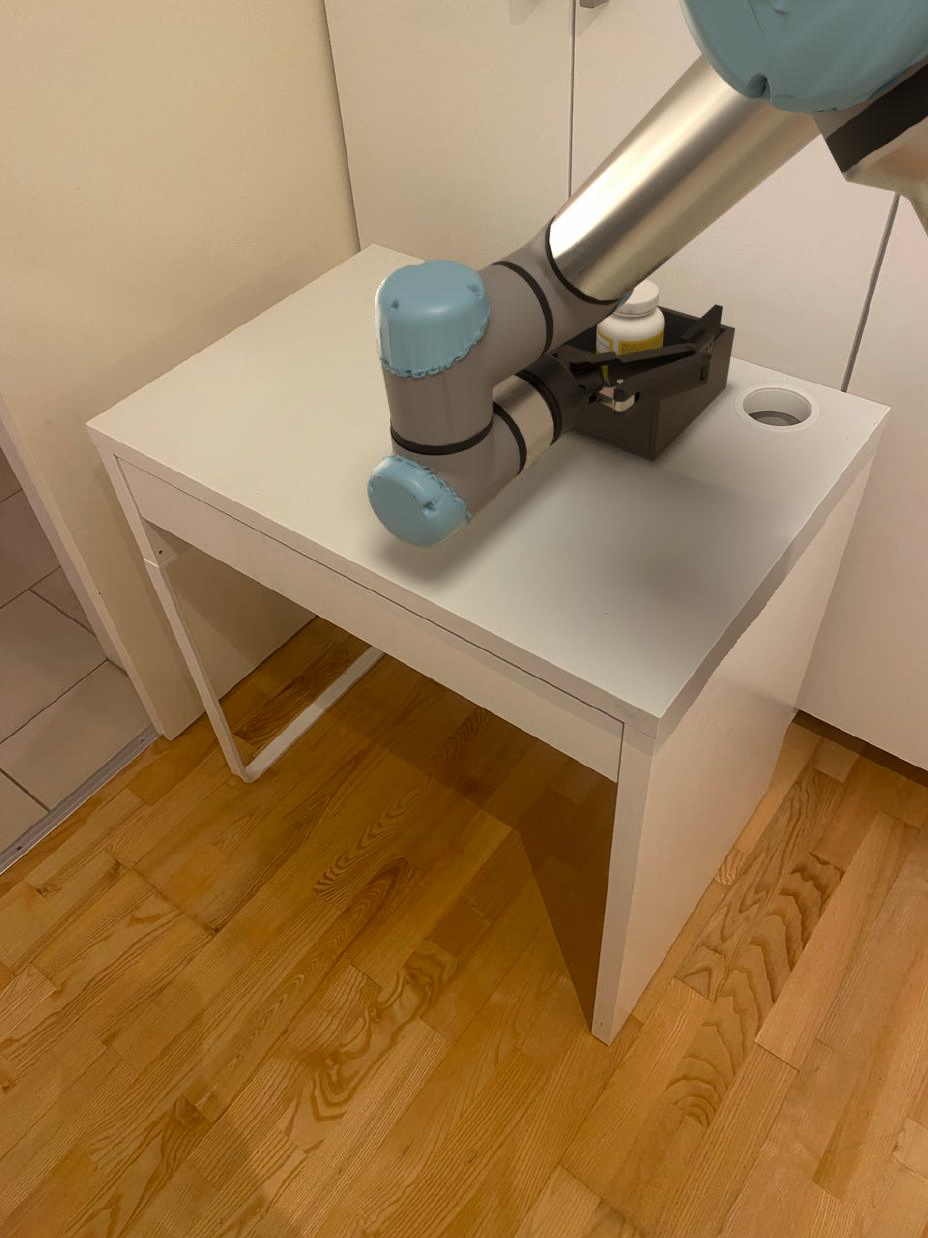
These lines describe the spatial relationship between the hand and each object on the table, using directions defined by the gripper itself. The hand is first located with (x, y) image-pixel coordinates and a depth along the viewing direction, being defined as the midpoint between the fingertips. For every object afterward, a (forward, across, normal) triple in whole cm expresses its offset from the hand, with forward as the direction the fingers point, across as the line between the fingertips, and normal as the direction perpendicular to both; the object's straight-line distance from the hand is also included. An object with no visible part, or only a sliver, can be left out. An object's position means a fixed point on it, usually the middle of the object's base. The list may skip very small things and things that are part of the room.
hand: (651, 299), depth 89 cm
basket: (-3, 0, -9) cm, 10 cm away
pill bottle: (-3, 0, -9) cm, 9 cm away
